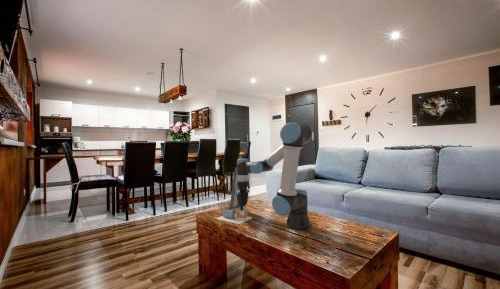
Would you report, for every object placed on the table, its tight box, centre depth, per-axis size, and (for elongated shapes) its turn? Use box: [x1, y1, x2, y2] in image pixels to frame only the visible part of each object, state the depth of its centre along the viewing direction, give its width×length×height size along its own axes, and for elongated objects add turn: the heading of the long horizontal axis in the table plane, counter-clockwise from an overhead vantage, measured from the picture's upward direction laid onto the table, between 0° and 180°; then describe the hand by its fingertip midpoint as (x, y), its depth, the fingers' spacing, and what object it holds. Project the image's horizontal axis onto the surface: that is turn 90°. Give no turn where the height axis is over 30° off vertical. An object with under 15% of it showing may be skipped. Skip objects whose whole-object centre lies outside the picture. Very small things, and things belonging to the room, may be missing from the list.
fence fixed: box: [222, 207, 236, 219], centre depth 167 cm, size 11×2×7 cm, turn 54°
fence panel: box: [235, 208, 249, 218], centre depth 165 cm, size 8×1×6 cm, turn 95°
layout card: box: [216, 213, 254, 225], centre depth 166 cm, size 21×16×1 cm
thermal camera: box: [227, 167, 241, 214], centre depth 186 cm, size 12×13×35 cm
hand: (242, 214), depth 163 cm, fingers closed
